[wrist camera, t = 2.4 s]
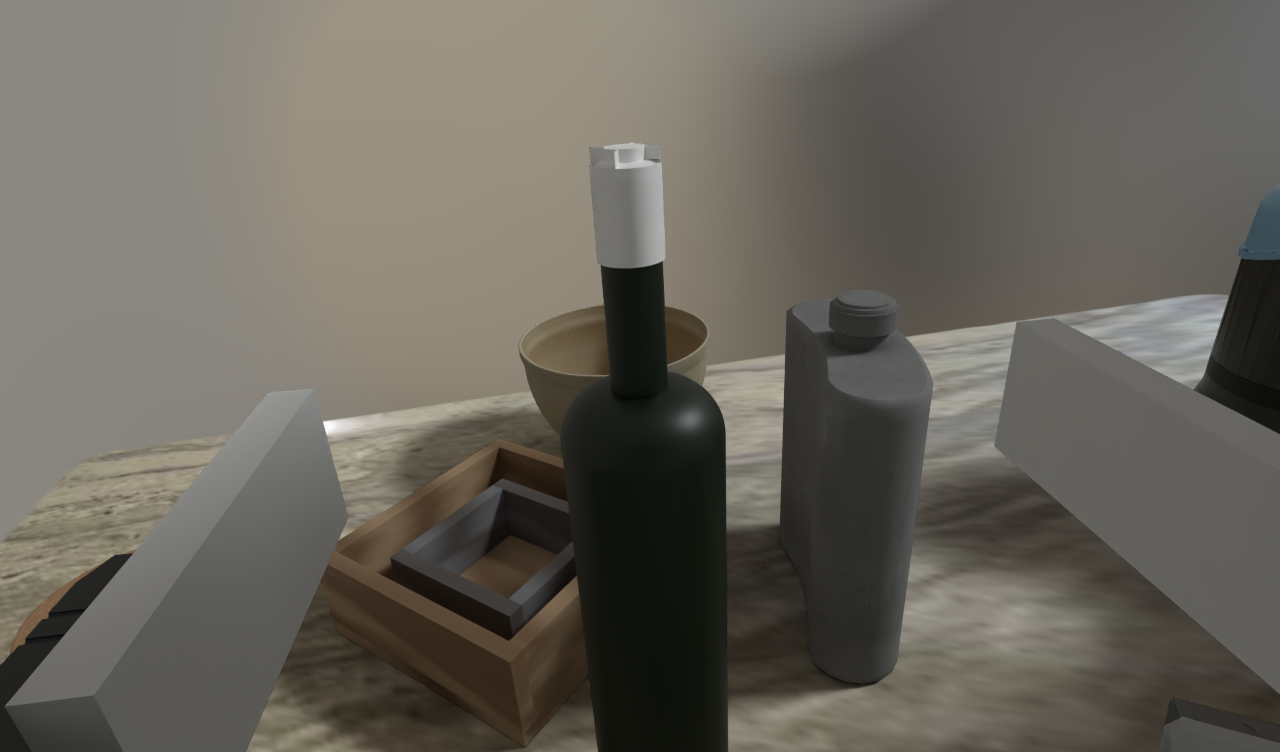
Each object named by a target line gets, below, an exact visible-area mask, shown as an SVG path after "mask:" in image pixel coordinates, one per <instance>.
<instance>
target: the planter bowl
mask: <svg viewBox="0 0 1280 752" xmlns="http://www.w3.org/2000/svg"><path fill="white" fill-rule="evenodd" d="M665 323H666V345H667V367H668V371H670V372H674V373H677V374H680V375H683V376H685V377H688V378H690V379H692V380H693V381H695V382H697V383H698V384H699V385H701V386H702V385H703V381H704V376H705V370H706V357H707V355H706V354H707V348H708V345H709V335H710V333H709V328H708V326H707V324H706V323H705V321H703V320H702V319H701V318H700V317H699V316H697V315H695V314H693V313H691V312H689V311H686V310H683V309H680V308H676V307H672V306H667V305H665ZM519 352H520V357H521V359H522V362H523V364H524V366H525V370H526V375H527V380H528V383H529V386H530V389H531V392H532V394H533V397H534V399H535V401H536V403H537V405H538V407H539V409H540V410H541V412H542V414H543V415H544V417H545V418H546V419H547V421H548V422H549V423H550V425H551V426H552V427H553V428H554V429H555V430H556V431H557V432H558V434H559V435H560V436H561V427H562V423H563V419H564V416H565V414H566V412H567V410H568V408H569V406H570V404H571V403H572V402H573V400H574V399H575V398H576V396H577V395H578V394H579V393H580V392H581V391H582V390H584V389H585V388H586V387H587V386H589V385H590V384H592V383H593V382H595V381H597V380H599V379H601V378H603V377H605V376H608V375H610V370H609V359H608V347H607V335H606V323H605V311H604V304H598V305H592V306H586V307H581V308H577V309H573V310H569V311H566V312H562V313H560V314H557V315H554V316H551V317H549V318H547V319H544V320H542V321H540V322H538V323H537V324H535V325H534V326H532V327H531V328H529V329H528V330H527V331H526V332H525V333H524V334H523V336H522V337H521V339H520V342H519Z"/></svg>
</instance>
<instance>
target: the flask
mask: <svg viewBox="0 0 1280 752" xmlns="http://www.w3.org/2000/svg"><path fill="white" fill-rule="evenodd" d="M898 317H899V305H898V303H897V302H896V301H895V300H894V299H893V298H891V297H890V296H889V295H887V294H885V293H881V292H878V291H871V290H853V291H847V292H844V293H841V294H840V295H838V296H837V297H836V298H834V299H833V300H829V299H827V300H826V299H821V300H813V301H807V302H803V303H800V304H797V305H795V306H793V307H792V308H790V309H789V310H787V320H786V351H785V383H784V414H783V445H782V477H781V508H780V543H781V545H782V546H783V548H784V550H785V552H786V553H787V555H788V556H789V558H790V560H791V561H792V563H793V565H794V567H795V569H796V571H797V574H798V576H799V578H800V581H801V584H802V587H803V590H804V594H805V599H806V603H807V610H808V618H809V626H808V650H809V652H810V655H811V657H812V659H813V661H814V663H815V664H816V665H817V666H818V667H819V668H821V669H822V670H823V671H824V672H826V673H827V674H828V675H830V676H833V677H835V678H837V679H840V680H842V681H845V682H853V683H862V684H865V683H869V682H874V681H879V680H881V679H883V678H884V677H885V676H887V675H888V674H890V673H891V672H892V670H893V668H894V666H895V664H896V662H897V658H898V650H899V642H900V634H901V627H902V619H903V611H904V604H905V596H906V588H907V581H908V573H909V565H910V558H911V550H912V542H913V535H914V527H915V519H916V511H917V504H918V496H919V488H920V481H921V473H922V465H923V458H924V450H925V442H926V435H927V427H928V419H929V412H930V404H931V396H932V388H933V381H932V378H931V375H930V372H929V370H928V368H927V366H926V364H925V362H924V360H923V359H922V357H921V356H920V354H919V353H918V351H917V350H916V349H915V348H914V346H913V345H912V344H911V343H910V342H909V341H908V340H907V339H906V338H905V337H904V336H903V334H901V333H900V332H899V331H898V330H897V326H898Z"/></svg>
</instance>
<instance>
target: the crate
mask: <svg viewBox="0 0 1280 752" xmlns="http://www.w3.org/2000/svg"><path fill="white" fill-rule="evenodd" d="M321 582H322V585H323V589H324V592H325V595H326V598H327V601H328V604H329V608H330V611H331V614H332V617H333V620H334V623H335V627H336V630H337V632H338V633H340V634H341V635H343V636H345V637H346V638H348V639H350V640H351V641H353V642H354V643H356V644H358V645H359V646H361V647H363V648H364V649H366V650H367V651H369V652H371V653H372V654H374V655H376V656H377V657H379V658H381V659H382V660H384V661H385V662H387V663H389V664H390V665H392V666H394V667H395V668H397V669H399V670H400V671H402V672H403V673H405V674H407V675H408V676H410V677H412V678H413V679H415V680H416V681H418V682H420V683H421V684H423V685H425V686H426V687H428V688H430V689H431V690H433V691H434V692H436V693H438V694H439V695H441V696H443V697H444V698H446V699H447V700H449V701H451V702H452V703H454V704H456V705H457V706H459V707H461V708H462V709H464V710H465V711H467V712H469V713H470V714H472V715H474V716H475V717H477V718H479V719H480V720H482V721H483V722H485V723H487V724H488V725H490V726H492V727H493V728H495V729H496V730H498V731H500V732H501V733H503V734H505V735H506V736H508V737H510V738H511V739H513V740H514V741H516V742H518V743H519V744H521V745H523V746H524V747H526V746H527V745H528V744H529V743H530V742H531V740H532V739H533V738H534V737H535V736H536V735H537V734H538V732H539V731H540V730H541V729H542V728H543V727H544V725H545V724H546V723H547V722H548V721H549V720H550V719H551V717H552V716H553V715H554V714H555V713H556V712H557V710H558V709H559V708H560V707H561V706H562V705H563V704H564V702H565V701H566V700H567V699H568V698H569V697H570V695H571V694H572V693H573V692H574V691H575V690H576V688H577V687H578V686H579V685H580V684H581V683H582V682H583V680H584V679H585V678H586V677H587V676H588V675H589V672H588V664H587V656H586V647H585V639H584V631H583V623H582V614H581V606H580V598H579V590H578V581H577V573H576V565H575V557H574V548H573V540H572V532H571V524H570V515H569V507H568V499H567V491H566V482H565V474H564V466H563V459H562V458H559V457H556V456H553V455H550V454H547V453H543V452H540V451H537V450H534V449H531V448H528V447H525V446H521V445H518V444H515V443H512V442H509V441H506V440H503V439H499V438H498V439H497V440H495V441H494V442H492V443H491V444H489V445H487V446H486V447H484V448H483V449H481V450H480V451H478V452H477V453H475V454H473V455H472V456H470V457H469V458H467V459H466V460H464V461H462V462H461V463H459V464H458V465H456V466H455V467H453V468H452V469H450V470H448V471H447V472H445V473H444V474H442V475H441V476H439V477H437V478H436V479H434V480H433V481H431V482H430V483H428V484H427V485H425V486H423V487H422V488H420V489H419V490H417V491H416V492H414V493H413V494H411V495H409V496H408V497H406V498H405V499H403V500H402V501H400V502H398V503H397V504H395V505H394V506H392V507H391V508H389V509H388V510H386V511H384V512H383V513H381V514H380V515H378V516H377V517H375V518H373V519H372V520H370V521H369V522H367V523H366V524H364V525H363V526H361V527H359V528H358V529H356V530H355V531H353V532H352V533H350V534H348V535H347V536H345V537H344V538H342V539H341V540H339V541H338V542H337V545H336V547H335V549H334V551H333V554H332V556H331V558H330V561H329V563H328V565H327V567H326V570H325V572H324V574H323V577H322V579H321Z"/></svg>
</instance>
